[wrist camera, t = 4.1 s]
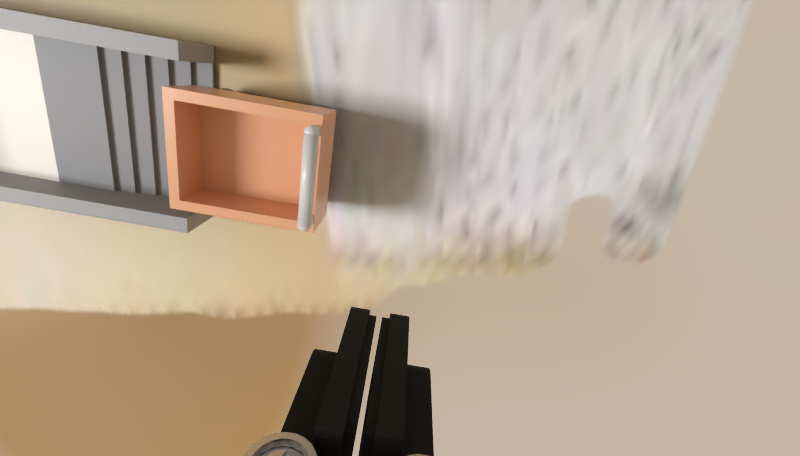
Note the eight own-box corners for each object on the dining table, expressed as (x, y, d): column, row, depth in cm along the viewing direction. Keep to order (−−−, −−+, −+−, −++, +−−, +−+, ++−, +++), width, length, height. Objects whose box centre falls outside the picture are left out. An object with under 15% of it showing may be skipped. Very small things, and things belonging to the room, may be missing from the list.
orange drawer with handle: (344, 107, 29) (318, 117, 22) (334, 204, 32) (308, 242, 25) (214, 84, 29) (144, 86, 21) (216, 184, 32) (155, 215, 24)
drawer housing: (214, 46, 28) (168, 39, 23) (217, 213, 33) (179, 238, 28) (-84, -8, 27) (-199, -28, 22) (-35, 169, 32) (-120, 186, 27)
